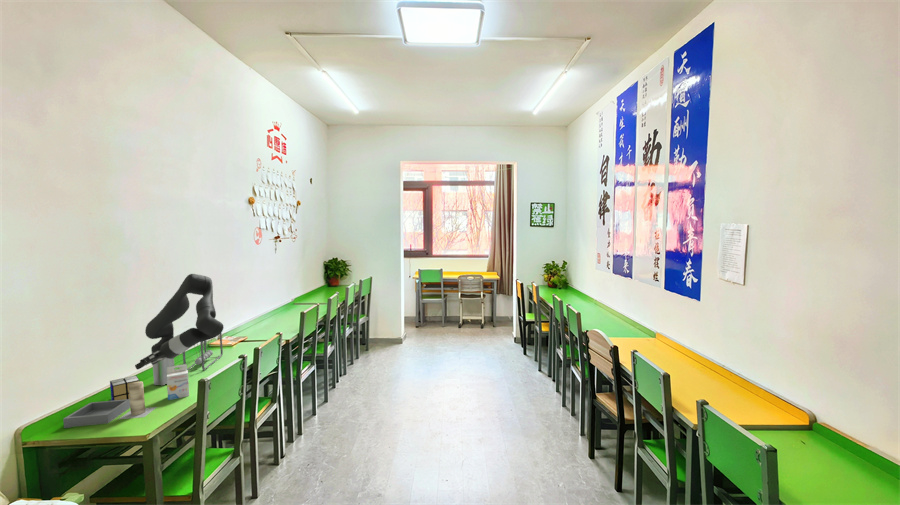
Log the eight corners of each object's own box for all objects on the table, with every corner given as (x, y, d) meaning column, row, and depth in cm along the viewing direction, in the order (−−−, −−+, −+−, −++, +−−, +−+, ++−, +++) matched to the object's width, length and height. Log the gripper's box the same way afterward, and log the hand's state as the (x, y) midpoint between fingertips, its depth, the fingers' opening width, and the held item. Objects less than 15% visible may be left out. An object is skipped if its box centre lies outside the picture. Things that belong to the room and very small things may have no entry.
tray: (91, 411, 184) (90, 402, 183) (131, 407, 186) (130, 398, 186) (64, 428, 168) (63, 418, 168) (108, 424, 170) (107, 414, 170)
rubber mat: (132, 410, 183) (132, 409, 183) (157, 407, 185) (157, 406, 185) (118, 420, 174) (118, 419, 174) (144, 417, 175) (144, 416, 175)
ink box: (168, 401, 192) (165, 370, 191) (168, 397, 196) (165, 367, 195) (189, 396, 197) (187, 366, 196) (189, 393, 201) (187, 363, 200)
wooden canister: (135, 411, 181) (132, 382, 181) (147, 409, 182) (145, 381, 181) (128, 416, 176) (125, 386, 176) (141, 414, 177) (139, 385, 176)
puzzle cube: (111, 401, 194) (109, 380, 193) (137, 395, 201) (136, 374, 200) (114, 407, 187) (112, 386, 186) (141, 400, 194) (139, 379, 193)
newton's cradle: (204, 371, 233) (202, 340, 231) (183, 373, 231) (181, 341, 230) (223, 355, 262) (221, 327, 261) (205, 357, 260) (203, 329, 259)
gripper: (183, 335, 184) (152, 354, 184) (160, 341, 170) (126, 361, 170) (191, 350, 184) (160, 368, 184) (169, 357, 170) (135, 377, 170)
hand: (144, 365), depth 177 cm, fingers open, 8 cm apart
